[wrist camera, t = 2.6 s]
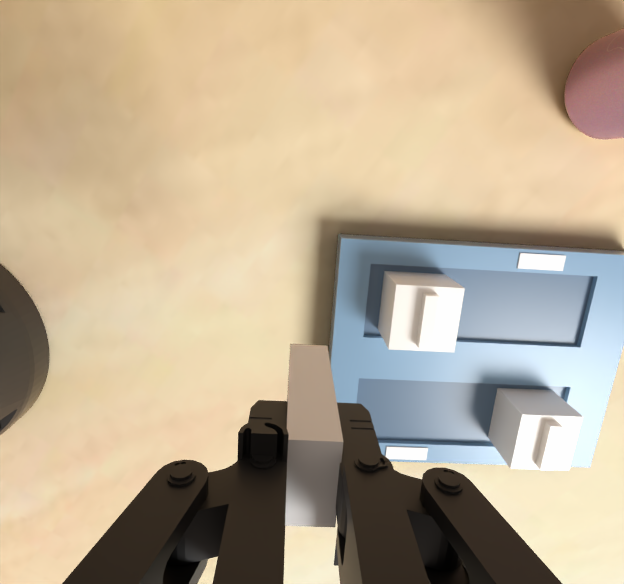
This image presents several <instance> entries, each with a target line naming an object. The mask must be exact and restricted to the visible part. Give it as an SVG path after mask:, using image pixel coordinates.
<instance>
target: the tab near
mask: <svg viewBox="0 0 624 584" xmlns="http://www.w3.org/2000/svg"><path fill="white" fill-rule="evenodd" d="M464 291H465V288H464V287H462V286H461V285H460V284H458V283H457V282H455V281H454V280H452V279H451V278H450V277H448V276H447V275H445V274H433V273H415V272H397V271H384V278H383V287H382V296H381V305H380V313H379V322H378V330H379V332H380V334H381V336H382V338H383V340H384V342H385V344H386V346H387V347H388V349H389V350H411V351H433V352H454V351H455V345H456V339H457V333H458V327H459V321H460V315H461V309H462V303H463V297H464Z"/></svg>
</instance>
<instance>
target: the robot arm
mask: <svg viewBox="0 0 624 584" xmlns="http://www.w3.org/2000/svg"><path fill="white" fill-rule="evenodd" d="M48 367H49V345H48V338H47V334H46V330H45V327H44V324H43V321H42V319H41V316H40V314H39V312H38V310H37V308H36V306H35V304H34V303H33V301H32V299H31V298H30V296H29V295H28V293H27V292H26V291H25V289H24V288H23V287H22V286H21V285H20V283H19V282H18V281H17V280H16V279H15V278H14V277H13V276H12V275H11V274H10V273H9V272H8V271H7V270H6V269H5V268H3V267H2V266H1V265H0V435H1V434H2V433H4V432H5V431H6V430H7V429H8V428H10V427H11V426H12V425H13V424H14V423H15V422H16V421H17V420H18V419H19V418H21V417H22V416H23V415H24V414H25V413H26V412H27V411H28V410H29V409H30V408H31V407H32V405H33V404H34V403H35V401H36V400H37V398H38V397H39V395H40V393H41V391H42V389H43V386H44V384H45V381H46V377H47V373H48ZM336 515H337V524H338V529H337V539H336V549H335V559H334V565H338V566H339V576H340V584H562V583H561V582H560V581H559V580H558V578H557V577H556V576H555V575H554V574H553V573H552V572H551V571H550V569H549V568H548V567H547V566H546V565H545V564H544V563H543V562H542V561H541V559H540V558H539V557H538V556H537V555H536V554H535V553H534V552H533V550H532V549H531V548H530V547H529V546H528V545H527V544H526V543H525V541H524V540H523V539H522V538H521V537H520V536H519V535H518V534H517V533H516V531H515V530H514V529H513V528H512V527H511V526H510V525H509V524H508V522H507V521H506V520H505V519H504V518H503V517H502V516H501V515H500V513H499V512H498V511H497V510H496V509H495V508H494V507H493V506H492V505H491V503H490V502H489V501H488V500H487V499H486V498H485V497H484V496H483V494H482V493H481V492H480V491H479V490H478V489H477V488H476V487H475V485H474V484H473V483H472V482H471V481H470V480H469V479H468V478H466V477H465V476H464V475H463V474H460V473H458V472H456V471H454V470H451V469H447V468H432V469H429V470H427V471H426V472H425V473H424V474H423V478H422V480H421V479H418V478H414V477H410V476H407V475H404V474H401V473H399V472H397V471H395V470H394V469H393V466H392V464H391V462H390V461H389V459H388V458H387V457H385V456H384V455H383V454H382V453H381V449H380V446H379V443H378V439H377V436H376V433H375V430H374V426H373V423H372V419H371V416H370V412H369V411H368V410H367V409H366V408H365V407H364V406H363V405H362V404H359V403H337V401H336V395H335V389H334V383H333V377H332V371H331V365H330V359H329V353H328V347H327V346H325V345H304V344H290V360H289V377H288V395H287V401H264V400H258V401H257V402H256V403H255V404H254V405H253V406H252V407H251V411H250V416H249V421H248V423H247V424H246V425H244V426H243V427H241V429H240V431H239V432H238V461H237V462H236V463H235V464H233V465H232V466H230V467H228V468H226V469H222V470H219V471H214V472H209V473H208V471H207V468H206V467H205V466H204V465H203V464H202V463H199V462H196V461H194V460H180V461H174V462H172V463H169V464H167V465H165V466H163V467H162V468H161V469H160V470H159V471H157V473H156V474H155V475H154V476H153V477H152V478H151V480H150V481H149V482H148V483H147V484H146V486H145V487H144V488H143V489H142V490H141V491H140V493H139V494H138V495H137V496H136V497H135V498H134V500H133V501H132V502H131V503H130V504H129V506H128V507H127V508H126V509H125V510H124V511H123V513H122V514H121V515H120V516H119V517H118V519H117V520H116V521H115V522H114V523H113V524H112V526H111V527H110V528H109V529H108V530H107V532H106V533H105V534H104V535H103V536H102V537H101V539H100V540H99V541H98V542H97V543H96V544H95V546H94V547H93V548H92V549H91V550H90V552H89V553H88V554H87V555H86V556H85V557H84V559H83V560H82V561H81V562H80V563H79V565H78V566H77V567H76V568H75V569H74V570H73V572H72V573H71V574H70V575H69V576H68V578H67V579H66V580H65V581H64V582H63V583H62V584H197V583H198V581H199V579H200V577H201V575H202V573H203V571H204V569H205V567H206V564H207V561H208V559H209V558H213V557H217V556H218V560H217V565H216V570H215V575H214V580H213V584H283V576H284V544H285V526H314V527H335V524H336Z"/></svg>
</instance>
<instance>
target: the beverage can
mask: <svg viewBox="0 0 624 584" xmlns="http://www.w3.org/2000/svg"><path fill="white" fill-rule="evenodd" d="M564 100H565V107H566V110H567V113H568V116H569V118H570V119H571V121H572V122H573V124H574V125H575V126H576V127H577V128H578V129H579V130H580V131H581V132H582V133H584V134H586V135H588V136H590V137H592V138H596V139H616V138H624V28H623V29H621V30H619V31H616V32H614V33H612V34H609V35H607V36H604V37H602V38H600V39H598V40H597V41H595V42H593V43H592V44H591V45H589V46H588V47H587V48H586V49H585V50H584V51H583V52H582V53H581V54H580V56H579V57H578V58H577V60H576V61H575V63H574V64H573V66H572V68H571V70H570V73H569V75H568V78H567V81H566V85H565V93H564Z"/></svg>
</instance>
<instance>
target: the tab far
mask: <svg viewBox="0 0 624 584" xmlns="http://www.w3.org/2000/svg"><path fill="white" fill-rule="evenodd" d="M582 420H583V416H582V415H581V414H579V413H578V412H577V411H576V410H575V409H574V408H572V407H571V406H570V405H569V404H568V403H567V402H565V401H564V400H563V399H562V398H561V397H560V396H558V395H557V394H556V393H555V392H554V391H553V390H536V389H511V388H497V393H496V398H495V403H494V409H493V414H492V419H491V424H490V429H489V434H488V438H489V440H490V441H491V442H492V444H493V445H494V447H495V448H496V449H497V451H498V452H499V453H500V455H501V456H502V458H503V459H504V460H505V462H506V463H507V465H508V466H509V467H510V469H538V470H549V471H552V470H570V466H571V462H572V458H573V454H574V450H575V447H576V443H577V439H578V435H579V431H580V427H581V424H582Z"/></svg>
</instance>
